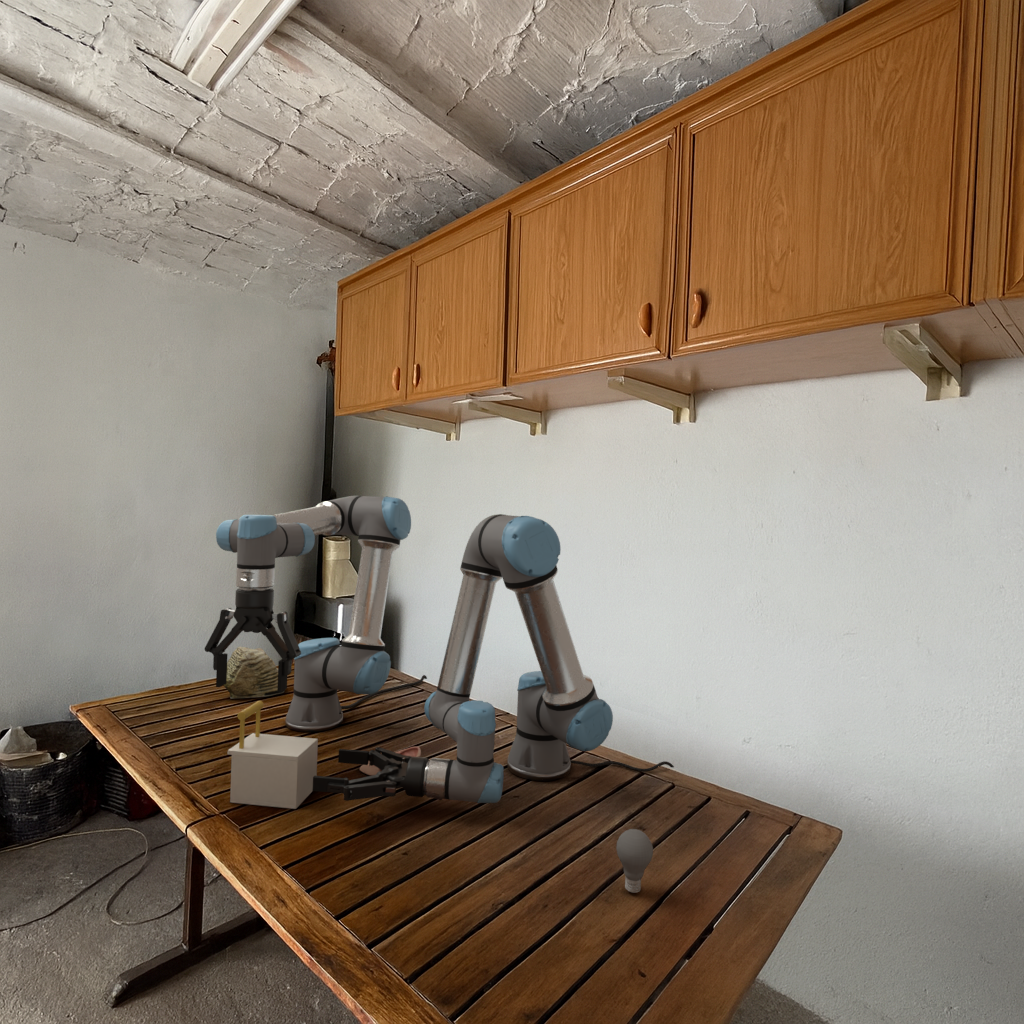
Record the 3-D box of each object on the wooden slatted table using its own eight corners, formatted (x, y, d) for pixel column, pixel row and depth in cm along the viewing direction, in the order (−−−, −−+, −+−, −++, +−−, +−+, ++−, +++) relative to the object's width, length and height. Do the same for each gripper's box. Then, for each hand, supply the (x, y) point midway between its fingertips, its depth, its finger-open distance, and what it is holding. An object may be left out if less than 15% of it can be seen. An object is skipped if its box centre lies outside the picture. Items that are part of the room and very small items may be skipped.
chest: (229, 802, 130) (231, 755, 129) (254, 781, 139) (256, 737, 139) (295, 809, 128) (297, 761, 128) (316, 787, 138) (317, 742, 138)
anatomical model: (354, 757, 144) (374, 739, 156) (353, 774, 145) (374, 755, 156) (409, 764, 142) (426, 745, 153) (408, 782, 142) (425, 762, 153)
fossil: (218, 695, 195) (220, 647, 195) (278, 685, 208) (279, 640, 207) (228, 703, 189) (230, 653, 188) (289, 692, 201) (290, 645, 201)
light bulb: (610, 879, 108) (613, 822, 108) (644, 879, 109) (647, 822, 109) (619, 902, 102) (622, 840, 102) (655, 901, 103) (658, 840, 103)
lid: (227, 754, 130) (228, 713, 129) (252, 736, 139) (253, 698, 139) (297, 760, 128) (299, 718, 128) (317, 742, 138) (319, 703, 138)
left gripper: (188, 586, 131) (185, 688, 132) (303, 593, 129) (300, 697, 129) (209, 582, 139) (206, 678, 139) (319, 588, 136) (315, 687, 136)
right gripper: (410, 826, 117) (300, 816, 119) (439, 770, 142) (347, 762, 144) (412, 786, 117) (301, 776, 119) (440, 736, 142) (349, 729, 144)
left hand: (251, 687), depth 134 cm, fingers open, 13 cm apart
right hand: (326, 768), depth 131 cm, fingers open, 13 cm apart
